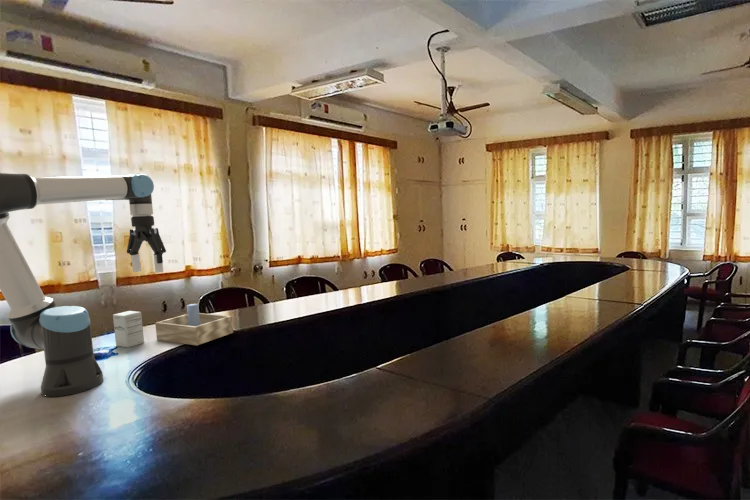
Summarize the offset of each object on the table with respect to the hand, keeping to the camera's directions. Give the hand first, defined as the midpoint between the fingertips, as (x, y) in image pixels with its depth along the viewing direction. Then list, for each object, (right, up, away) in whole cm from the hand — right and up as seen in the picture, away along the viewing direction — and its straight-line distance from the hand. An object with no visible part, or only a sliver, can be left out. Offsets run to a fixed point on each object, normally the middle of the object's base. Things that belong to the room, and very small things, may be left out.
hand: (148, 272), depth 164 cm
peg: (+12, -27, +14) cm, 33 cm away
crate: (+12, -27, +14) cm, 33 cm away
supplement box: (-11, -29, +7) cm, 32 cm away
